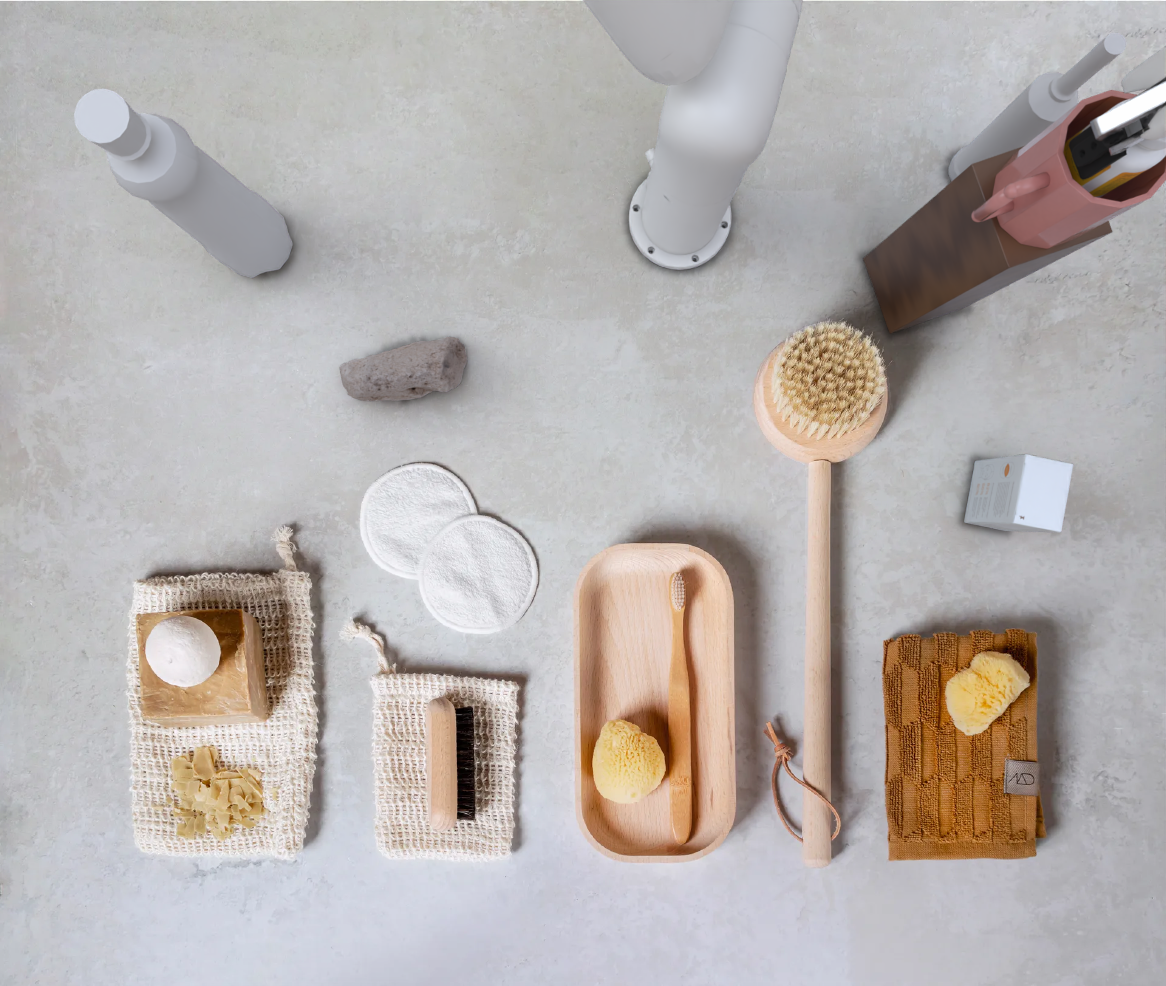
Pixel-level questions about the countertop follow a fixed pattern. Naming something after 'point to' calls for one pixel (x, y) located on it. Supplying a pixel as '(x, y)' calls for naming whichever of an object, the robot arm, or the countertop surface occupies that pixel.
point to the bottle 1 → (185, 184)
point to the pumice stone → (406, 371)
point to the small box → (1019, 493)
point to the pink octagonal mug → (1061, 184)
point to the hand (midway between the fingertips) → (1116, 146)
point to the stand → (955, 252)
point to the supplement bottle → (1120, 162)
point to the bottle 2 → (1036, 107)
